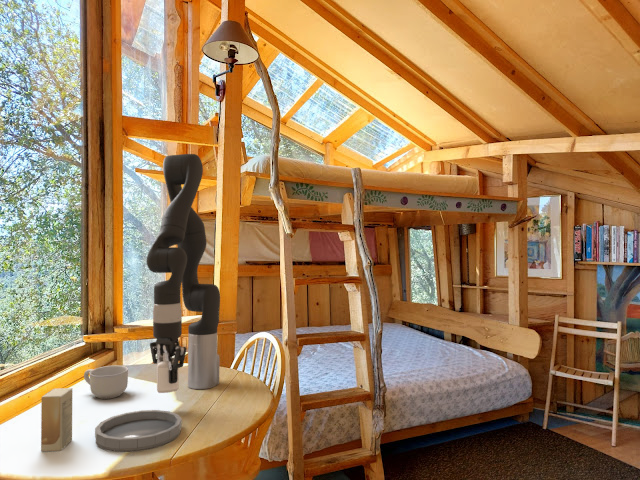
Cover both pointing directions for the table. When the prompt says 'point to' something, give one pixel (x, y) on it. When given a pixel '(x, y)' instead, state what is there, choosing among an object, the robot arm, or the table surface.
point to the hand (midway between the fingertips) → (167, 381)
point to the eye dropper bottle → (165, 378)
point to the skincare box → (56, 419)
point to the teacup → (107, 381)
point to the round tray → (138, 430)
